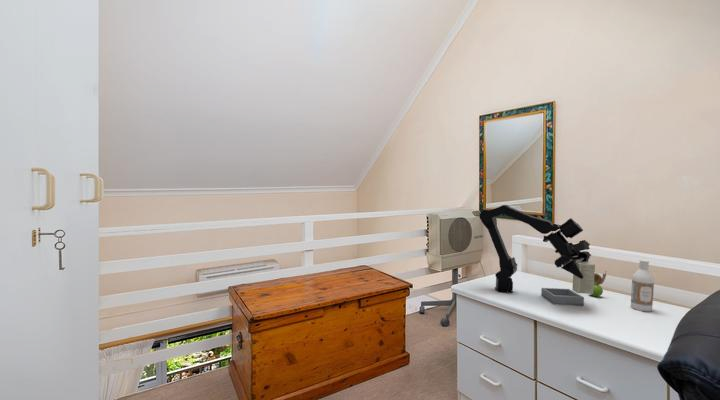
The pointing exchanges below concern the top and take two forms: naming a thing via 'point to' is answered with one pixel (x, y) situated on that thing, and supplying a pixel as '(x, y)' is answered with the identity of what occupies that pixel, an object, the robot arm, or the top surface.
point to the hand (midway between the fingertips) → (587, 277)
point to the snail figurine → (597, 282)
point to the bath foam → (642, 288)
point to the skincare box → (584, 278)
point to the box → (562, 296)
